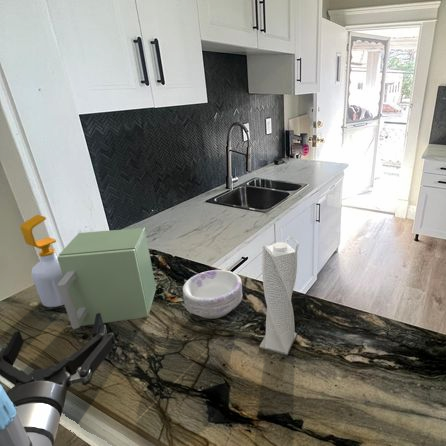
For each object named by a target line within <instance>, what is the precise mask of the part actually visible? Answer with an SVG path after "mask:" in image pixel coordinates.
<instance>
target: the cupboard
mask: <svg viewBox="0 0 446 446" xmlns="http://www.w3.org/2000/svg"><path fill="white" fill-rule="evenodd" d="M128 249H135V252H136V257H137V261H138V266H139V271H140V276H141V280H142V285H143V290H144V295H145V299H146V304H147V309H148V314H149V315H150V312H151V310H152V309H151V308H152V305H153V301H154V297H155V294H156V292H157V291H156V290H157V286H156V280H155V276H154V270H153V264H152V260H151V255H150V250H149V244H148V238H147V233H146V228H145V227H139V228H138V227H137V228H136V227H135V228H125V229H123V228H122V229H114V230H113V229H112V230H111V229H110V230H100V231H99V230H98V231H86V232H78V233H77V234H76V235H75V236H74V237H73V238H72V240H70V242H69V243H68V244H67V245H66V246H65V247H64V249H62V251H61V252H59V254H58V256H59V255H71V254H82V253H94V252H105V251H116V250H128Z"/></svg>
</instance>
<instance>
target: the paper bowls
mask: <svg viewBox="0 0 446 446" xmlns="http://www.w3.org/2000/svg"><path fill="white" fill-rule="evenodd" d="M182 295H183V296H182V297H183V303H184V307H185V309H186V311H188V312H189V313H191V314H192V315H196V316H199V317H201V318H204V319H210V320H211V319H212V320H213V319H219V318H222V317H224V316H226V315H228V314H230V312H231V311H232V310H234V309H235V308H237V307H238V306H239V305H240V303H241V302H242V301H243V283H242V279H241V277H240V276H239V274H237V273H235V272H233V271H230V270H226V269H212V270H207V271H206V270H205V271H203V272H200V273H197V274H194V275H193V276H191V277H190V278H189V279H188V280H186V282H185V283H184V284H183V286H182Z"/></svg>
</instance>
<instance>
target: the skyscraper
mask: <svg viewBox="0 0 446 446" xmlns="http://www.w3.org/2000/svg"><path fill="white" fill-rule="evenodd" d="M289 240H292V241H293V242H294V243H295V244H296V246H295V249H294V248H293V247H292V246H291V245H290V244H289V243H288V241H289ZM299 245H300V243H299V242H298V241H297V240H296V239H295V238H293V236H287V237H286V239H285V241H284V242H283V241H277V242H274V243H273V244H270V245H265V244H263V245H262V259H261V260H262V265H261V267H262V268H261V269H262V284H263V285H262V286H263V293H264V299H265V304H266V314H265V316H266V317H265V319H266V320H265V335H264V337H263V339H262V341H261V343H260V344H259V346H258V348H259V349H262V350H265V351H269V352H273V353H277V354H279V355H284V356H289V352H290V351H291V348H292V346H293V345H294V342H295V340H296V337H297V334H298V333H297V332H296V331H295V330H296V329H295V326H296V325H295V315H294V308H293V302H292V295H293V292H294V288H295V285H296V278H297V272H298V251H299V250H298V249H299Z"/></svg>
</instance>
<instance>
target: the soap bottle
mask: <svg viewBox="0 0 446 446" xmlns="http://www.w3.org/2000/svg"><path fill="white" fill-rule="evenodd" d="M46 220H47V217H46V216H45V215H44V216H43V215H40V214H36V215H33V216H32V217H31V218H29V219H28V220H26V221H24V222H23V223H22V224H21V225H20V231H21V234H22V236H23V239H24V242H25V243H26V244H27V245H28V246H31V247H34V248H37V249H40V250H41V251H39V253H38V255H39V256H38V257H39V258H40V259H39V260H40V261H38V262H37V263H35V265H34V266H33V267H32V268H31V274H30V276H31V279H32V281H33V284H34V287H35V289H36V293H37V295H38V297H39V300H40V303H41V304H42V305H43V306H44V307H46V308H59V307H62V306H65V305H64V302H63V299H62V296H61V293H60V290H59V287H58V283H59V282H60V281H61V279H62V278H63V274H62V271H61V268H60V265H59V262H58V259H57V257H58V256H57V254H56V251H55V249H54V248H50V247H51V246H52V244H55V243H56V242H57V239H56V238H53V237H44V238H42V239H39V240H36V239H35V237H34V234H33V229H34V228H35V227H37V226H38V225H40V224H42V223H43V222H44V221H46Z"/></svg>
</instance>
